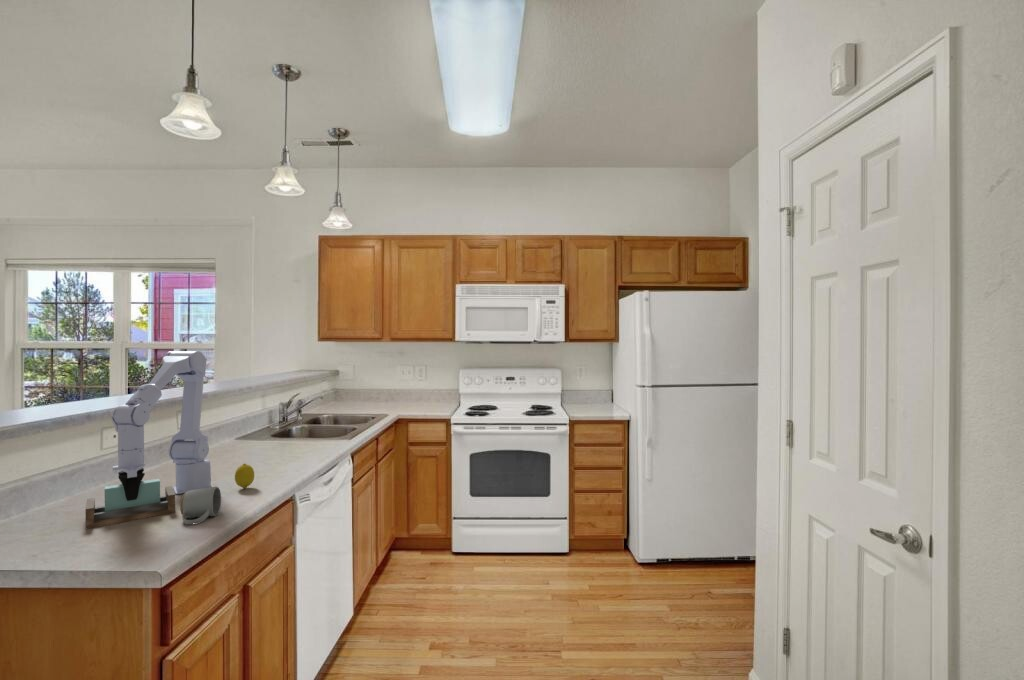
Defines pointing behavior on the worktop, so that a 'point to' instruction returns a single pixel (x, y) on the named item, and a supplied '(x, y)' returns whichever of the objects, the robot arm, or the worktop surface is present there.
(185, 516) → the ceramic mug
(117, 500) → the long teal rectangular block
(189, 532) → the worktop surface
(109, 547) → the worktop surface
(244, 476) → the lemon
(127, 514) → the track board
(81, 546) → the worktop surface
